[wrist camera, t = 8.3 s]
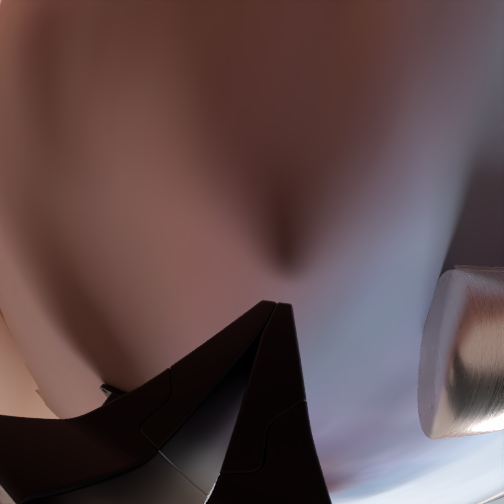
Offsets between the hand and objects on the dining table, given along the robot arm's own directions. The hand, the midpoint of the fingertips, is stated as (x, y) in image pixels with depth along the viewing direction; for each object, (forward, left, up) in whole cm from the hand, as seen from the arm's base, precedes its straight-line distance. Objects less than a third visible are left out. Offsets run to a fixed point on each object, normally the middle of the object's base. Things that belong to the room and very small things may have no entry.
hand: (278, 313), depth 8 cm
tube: (0, -14, -1) cm, 14 cm away
